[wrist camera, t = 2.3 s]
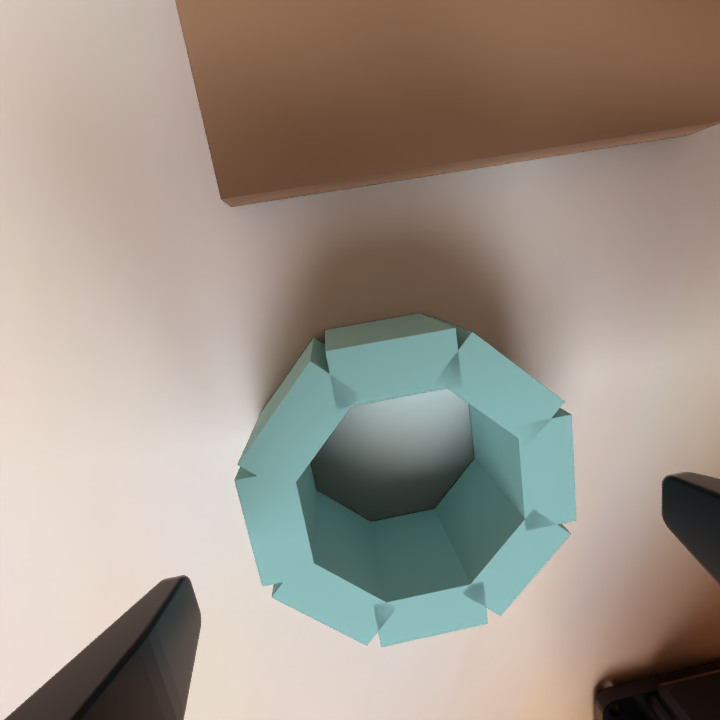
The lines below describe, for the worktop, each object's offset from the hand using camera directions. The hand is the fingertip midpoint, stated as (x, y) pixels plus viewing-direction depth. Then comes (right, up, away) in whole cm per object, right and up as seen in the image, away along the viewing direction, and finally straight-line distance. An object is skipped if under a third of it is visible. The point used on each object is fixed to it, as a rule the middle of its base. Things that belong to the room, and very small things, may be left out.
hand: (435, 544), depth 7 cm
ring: (-1, +1, +4) cm, 4 cm away
